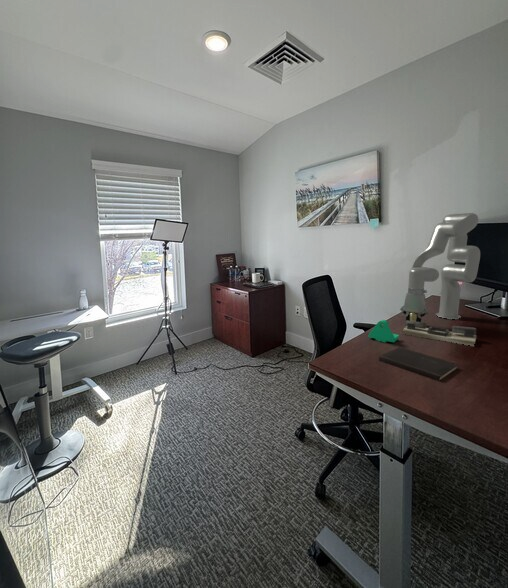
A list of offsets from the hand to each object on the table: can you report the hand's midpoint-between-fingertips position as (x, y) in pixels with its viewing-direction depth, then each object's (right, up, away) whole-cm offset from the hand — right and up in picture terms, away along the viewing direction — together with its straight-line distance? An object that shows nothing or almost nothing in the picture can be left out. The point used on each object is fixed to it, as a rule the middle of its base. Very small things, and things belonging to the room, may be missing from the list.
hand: (413, 323), depth 167 cm
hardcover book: (-24, -12, -48) cm, 55 cm away
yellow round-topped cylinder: (0, -1, 0) cm, 1 cm away
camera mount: (-25, -6, -21) cm, 33 cm away
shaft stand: (+2, -5, -19) cm, 20 cm away
